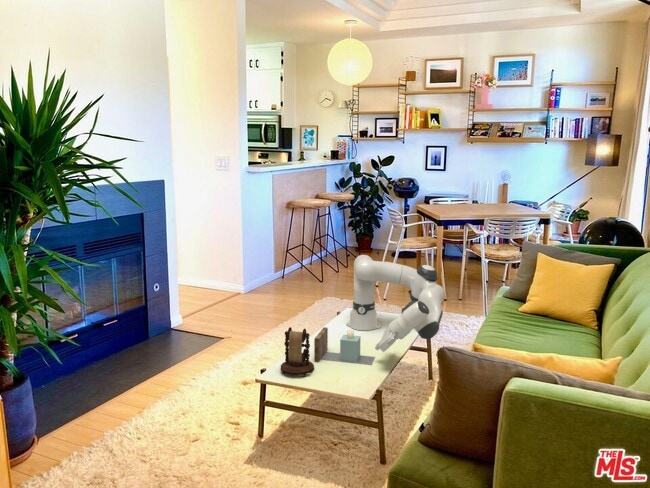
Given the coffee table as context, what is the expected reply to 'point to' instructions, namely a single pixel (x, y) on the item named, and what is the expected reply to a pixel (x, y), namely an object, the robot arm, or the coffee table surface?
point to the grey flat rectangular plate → (336, 357)
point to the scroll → (297, 354)
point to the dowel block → (350, 347)
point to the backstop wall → (320, 344)
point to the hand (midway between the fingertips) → (376, 348)
